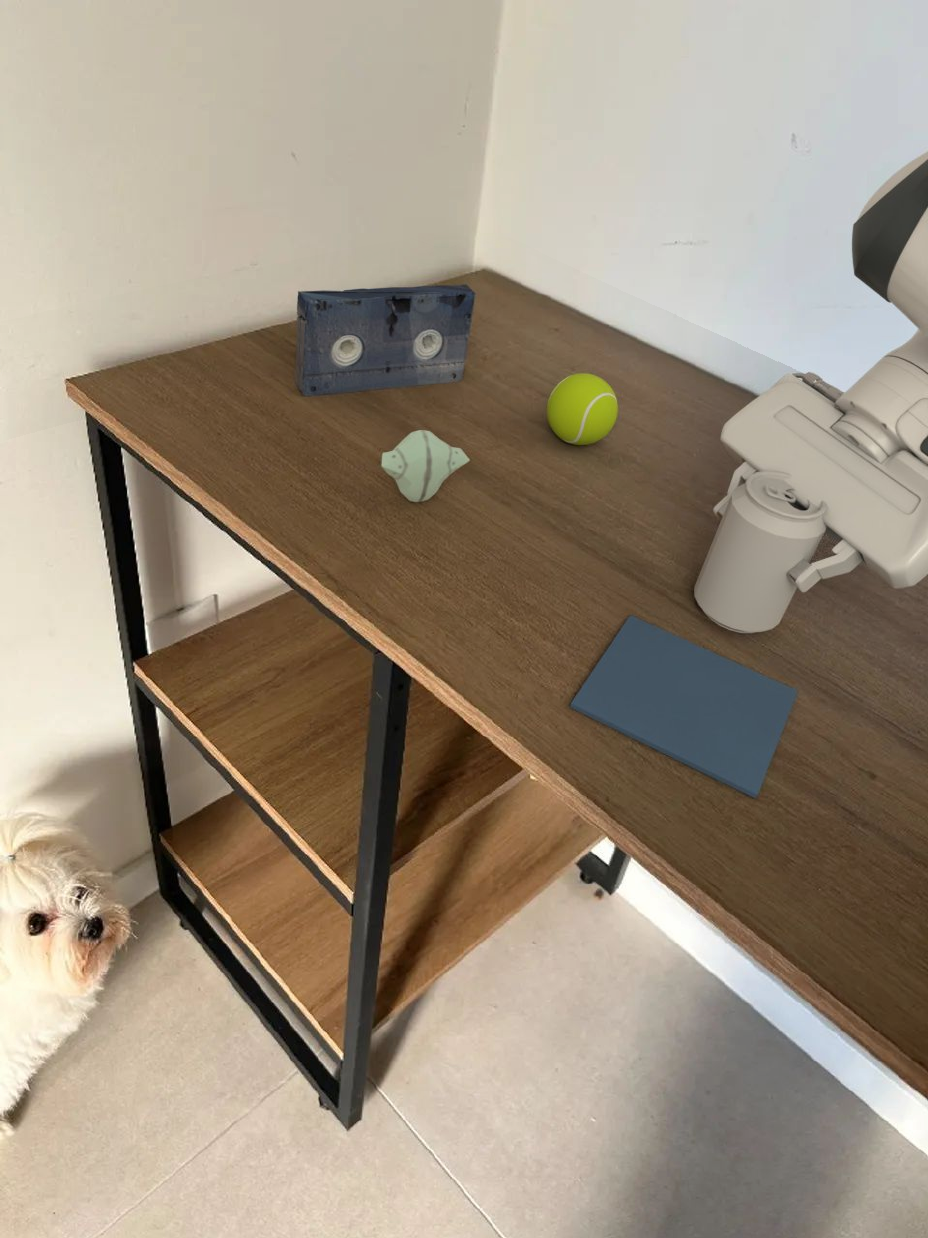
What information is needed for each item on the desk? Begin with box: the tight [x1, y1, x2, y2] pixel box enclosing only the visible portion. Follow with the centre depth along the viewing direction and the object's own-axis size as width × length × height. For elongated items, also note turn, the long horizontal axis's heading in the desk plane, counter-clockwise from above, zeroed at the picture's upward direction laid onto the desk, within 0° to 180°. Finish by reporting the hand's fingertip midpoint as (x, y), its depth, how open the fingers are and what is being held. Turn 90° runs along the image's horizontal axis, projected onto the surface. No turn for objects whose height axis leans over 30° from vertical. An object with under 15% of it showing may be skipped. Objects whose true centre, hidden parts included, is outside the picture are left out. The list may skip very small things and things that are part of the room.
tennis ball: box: [546, 372, 619, 446], centre depth 93 cm, size 7×7×7 cm
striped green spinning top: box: [381, 429, 471, 503], centre depth 81 cm, size 8×4×7 cm, turn 110°
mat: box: [569, 614, 799, 799], centre depth 69 cm, size 14×12×1 cm
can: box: [693, 471, 827, 634], centre depth 74 cm, size 8×8×12 cm
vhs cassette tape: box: [294, 284, 476, 397], centre depth 95 cm, size 18×3×10 cm, turn 115°
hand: (756, 550), depth 74 cm, fingers closed on can, 7 cm apart
